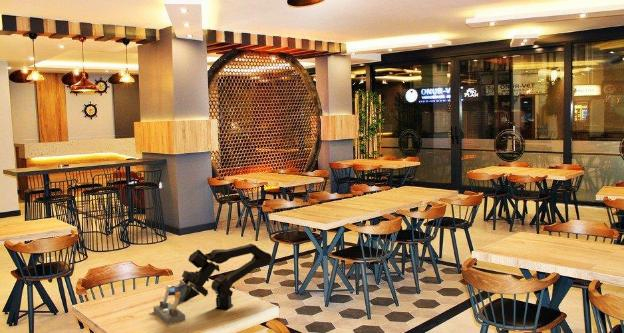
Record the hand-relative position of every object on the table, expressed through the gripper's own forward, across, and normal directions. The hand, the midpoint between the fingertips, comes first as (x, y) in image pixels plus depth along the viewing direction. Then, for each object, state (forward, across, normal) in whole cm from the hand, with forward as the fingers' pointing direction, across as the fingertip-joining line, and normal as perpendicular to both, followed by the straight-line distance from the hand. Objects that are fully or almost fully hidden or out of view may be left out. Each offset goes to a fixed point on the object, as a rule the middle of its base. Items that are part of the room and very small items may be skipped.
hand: (183, 301), depth 253 cm
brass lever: (+6, 0, -1) cm, 6 cm away
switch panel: (+9, -6, +2) cm, 11 cm away
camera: (-3, -39, +14) cm, 41 cm away
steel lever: (+6, -13, -1) cm, 14 cm away
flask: (0, -22, +11) cm, 24 cm away
